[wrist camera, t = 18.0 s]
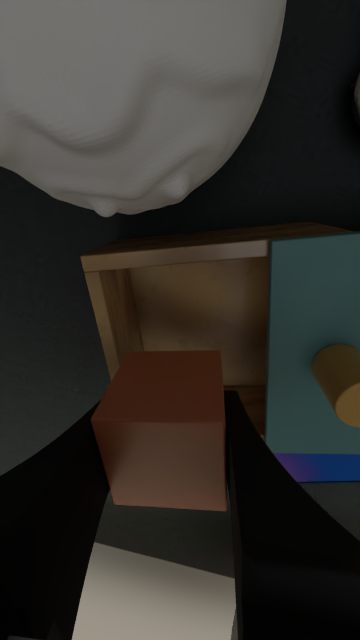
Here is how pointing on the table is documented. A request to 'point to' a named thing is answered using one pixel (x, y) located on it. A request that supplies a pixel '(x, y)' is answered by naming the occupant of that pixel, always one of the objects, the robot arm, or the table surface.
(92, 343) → the table surface
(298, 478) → the smartphone
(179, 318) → the box
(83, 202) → the decorative ball
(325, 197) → the table surface
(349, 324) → the lid
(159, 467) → the block
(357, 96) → the rock
